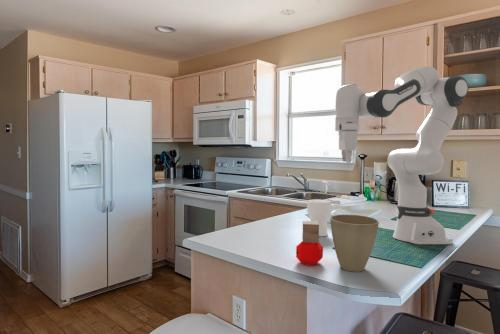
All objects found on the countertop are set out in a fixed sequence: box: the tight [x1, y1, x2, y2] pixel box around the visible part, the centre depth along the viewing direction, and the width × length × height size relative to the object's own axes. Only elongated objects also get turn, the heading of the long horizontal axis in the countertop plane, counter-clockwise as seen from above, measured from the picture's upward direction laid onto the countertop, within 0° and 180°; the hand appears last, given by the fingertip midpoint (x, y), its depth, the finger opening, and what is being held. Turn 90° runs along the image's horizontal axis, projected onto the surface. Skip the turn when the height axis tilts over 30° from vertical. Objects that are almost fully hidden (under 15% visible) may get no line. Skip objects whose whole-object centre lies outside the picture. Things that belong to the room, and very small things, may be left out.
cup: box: [306, 198, 333, 237], centre depth 154 cm, size 11×11×15 cm
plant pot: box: [329, 214, 380, 273], centre depth 111 cm, size 15×15×16 cm
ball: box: [295, 240, 324, 267], centre depth 116 cm, size 8×8×8 cm
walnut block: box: [302, 220, 320, 243], centre depth 115 cm, size 5×5×6 cm
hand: (346, 161), depth 136 cm, fingers open, 8 cm apart
